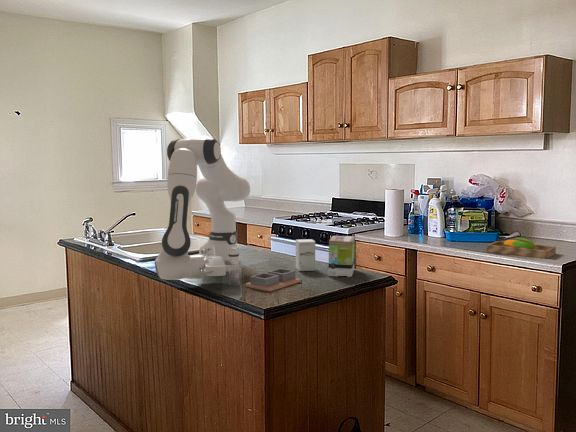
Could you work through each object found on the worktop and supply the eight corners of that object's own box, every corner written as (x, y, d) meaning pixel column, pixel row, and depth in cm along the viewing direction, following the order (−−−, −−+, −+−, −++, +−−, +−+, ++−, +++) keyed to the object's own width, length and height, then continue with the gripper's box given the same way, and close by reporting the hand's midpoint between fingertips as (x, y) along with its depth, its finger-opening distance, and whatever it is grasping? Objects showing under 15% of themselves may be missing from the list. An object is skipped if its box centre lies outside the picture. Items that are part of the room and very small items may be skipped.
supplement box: (298, 271, 227) (298, 242, 225) (295, 268, 234) (295, 239, 233) (315, 270, 228) (315, 241, 227) (312, 267, 235) (312, 238, 234)
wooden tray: (486, 252, 267) (486, 245, 266) (496, 247, 278) (496, 241, 278) (547, 258, 249) (547, 251, 249) (555, 253, 261) (555, 246, 260)
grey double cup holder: (245, 286, 202) (245, 275, 202) (276, 277, 216) (276, 267, 216) (269, 291, 195) (269, 280, 194) (300, 282, 209) (300, 271, 208)
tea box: (352, 277, 216) (353, 241, 214) (327, 276, 217) (327, 240, 216) (354, 269, 230) (355, 235, 229) (331, 268, 232) (331, 234, 230)
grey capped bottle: (226, 284, 206) (225, 248, 204) (234, 282, 209) (233, 246, 207) (234, 286, 203) (233, 249, 201) (241, 284, 206) (241, 248, 205)
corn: (528, 240, 253) (498, 234, 272) (526, 256, 254) (496, 249, 272) (540, 240, 256) (509, 234, 274) (539, 256, 256) (508, 249, 275)
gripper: (200, 264, 192) (238, 262, 195) (198, 253, 212) (233, 251, 215) (200, 281, 193) (239, 279, 195) (198, 269, 213) (233, 267, 215)
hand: (236, 264), depth 205 cm, fingers open, 7 cm apart
